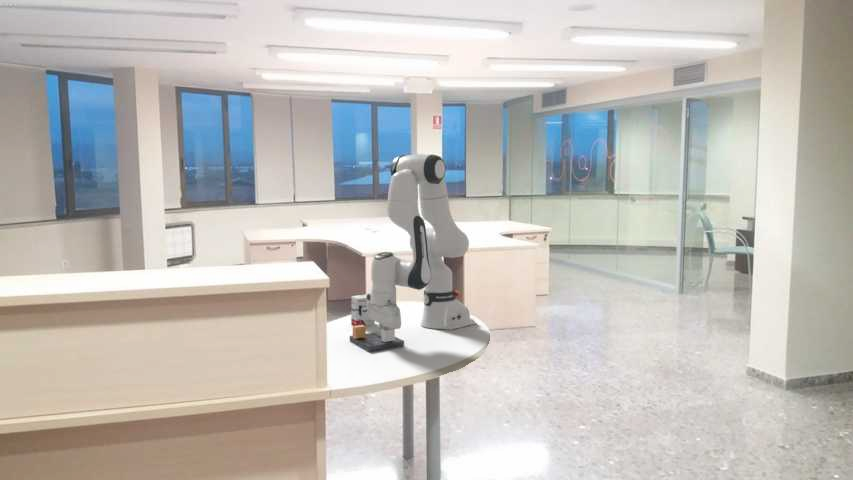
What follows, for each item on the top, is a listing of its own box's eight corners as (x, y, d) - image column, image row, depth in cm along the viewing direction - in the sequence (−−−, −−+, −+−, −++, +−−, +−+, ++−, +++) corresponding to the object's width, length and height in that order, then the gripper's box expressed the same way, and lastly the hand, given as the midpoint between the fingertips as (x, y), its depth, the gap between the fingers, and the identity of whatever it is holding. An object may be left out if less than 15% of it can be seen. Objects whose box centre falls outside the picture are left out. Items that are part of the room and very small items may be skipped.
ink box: (356, 327, 258) (356, 298, 257) (351, 324, 263) (350, 296, 261) (375, 324, 263) (375, 295, 262) (369, 321, 267) (369, 293, 266)
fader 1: (362, 335, 238) (362, 324, 237) (365, 337, 235) (365, 326, 235) (352, 337, 236) (352, 325, 235) (355, 338, 233) (355, 327, 233)
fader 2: (391, 338, 233) (391, 327, 233) (394, 340, 231) (394, 329, 231) (381, 340, 231) (381, 329, 231) (384, 341, 229) (384, 330, 229)
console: (383, 336, 245) (383, 330, 245) (404, 346, 232) (404, 340, 231) (349, 341, 238) (349, 335, 238) (368, 352, 225) (368, 346, 224)
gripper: (405, 302, 225) (405, 341, 226) (379, 292, 242) (379, 328, 244) (389, 304, 221) (389, 344, 223) (364, 293, 239) (364, 330, 241)
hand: (384, 335), depth 234 cm, fingers closed
